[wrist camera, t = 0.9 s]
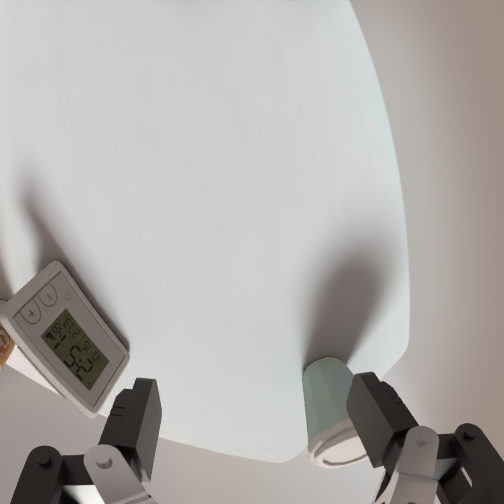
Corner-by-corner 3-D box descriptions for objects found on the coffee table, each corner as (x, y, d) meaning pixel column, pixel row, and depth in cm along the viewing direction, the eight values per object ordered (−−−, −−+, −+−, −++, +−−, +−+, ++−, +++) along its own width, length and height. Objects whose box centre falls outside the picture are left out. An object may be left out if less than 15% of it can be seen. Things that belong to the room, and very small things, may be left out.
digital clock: (137, 358, 36) (121, 420, 26) (85, 367, 36) (62, 422, 26) (81, 248, 30) (37, 293, 20) (29, 268, 30) (-17, 311, 20)
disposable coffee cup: (345, 391, 43) (379, 464, 29) (280, 399, 41) (302, 482, 28) (362, 340, 39) (412, 417, 25) (289, 347, 38) (322, 439, 24)
